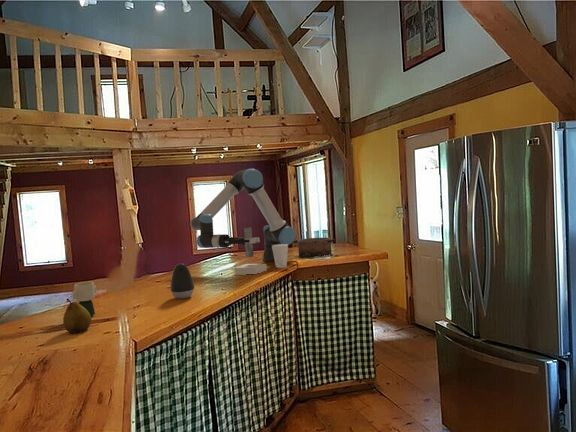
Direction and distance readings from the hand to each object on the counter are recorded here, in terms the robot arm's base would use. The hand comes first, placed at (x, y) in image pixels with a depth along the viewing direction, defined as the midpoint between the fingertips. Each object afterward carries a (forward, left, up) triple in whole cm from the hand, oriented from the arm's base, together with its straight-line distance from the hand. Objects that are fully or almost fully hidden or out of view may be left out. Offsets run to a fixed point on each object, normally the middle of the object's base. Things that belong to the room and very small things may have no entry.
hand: (257, 240), depth 266 cm
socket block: (0, -5, -18) cm, 19 cm away
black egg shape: (+62, -4, -18) cm, 65 cm away
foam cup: (-20, +4, -18) cm, 28 cm away
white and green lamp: (+98, -23, -18) cm, 102 cm away
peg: (0, -5, -9) cm, 10 cm away
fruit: (+115, -8, -18) cm, 117 cm away
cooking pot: (-71, +4, -19) cm, 73 cm away
